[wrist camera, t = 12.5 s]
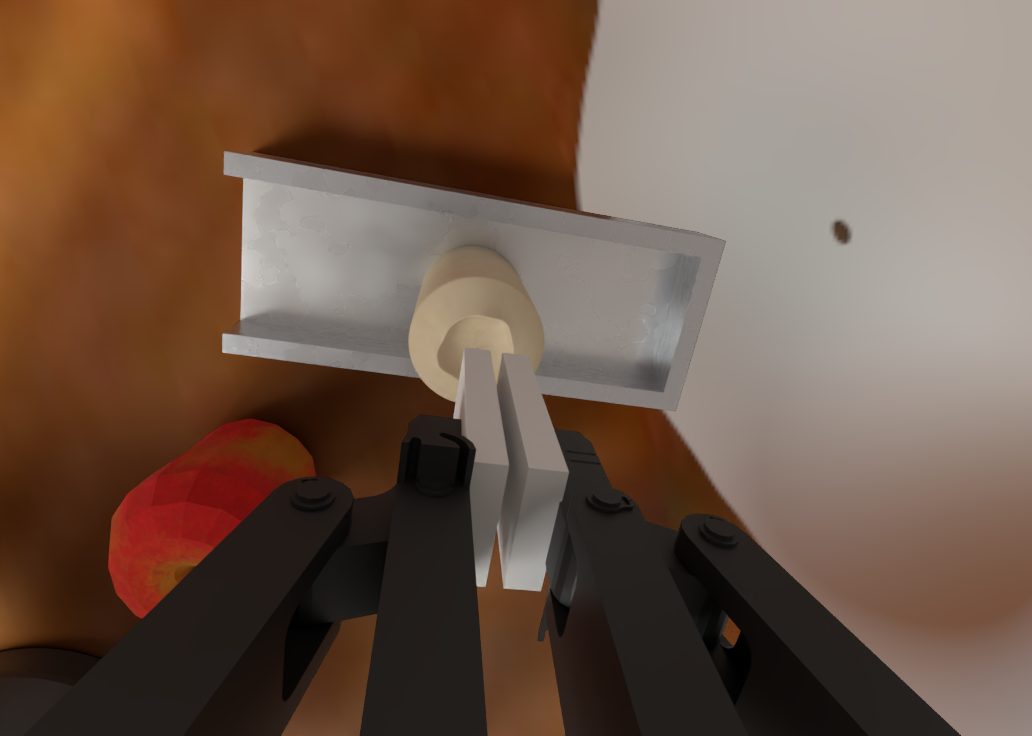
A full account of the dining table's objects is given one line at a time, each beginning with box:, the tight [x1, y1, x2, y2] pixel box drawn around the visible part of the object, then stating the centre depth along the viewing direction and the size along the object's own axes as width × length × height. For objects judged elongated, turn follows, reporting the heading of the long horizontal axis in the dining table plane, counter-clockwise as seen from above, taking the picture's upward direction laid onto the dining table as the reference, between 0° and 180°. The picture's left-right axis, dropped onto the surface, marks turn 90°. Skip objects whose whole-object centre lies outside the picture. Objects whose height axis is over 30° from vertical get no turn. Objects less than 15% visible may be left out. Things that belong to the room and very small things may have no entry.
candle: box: [408, 246, 544, 402], centre depth 26 cm, size 6×6×10 cm
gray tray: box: [222, 151, 726, 411], centre depth 30 cm, size 24×10×4 cm, turn 80°
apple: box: [108, 418, 316, 618], centre depth 29 cm, size 9×8×12 cm
